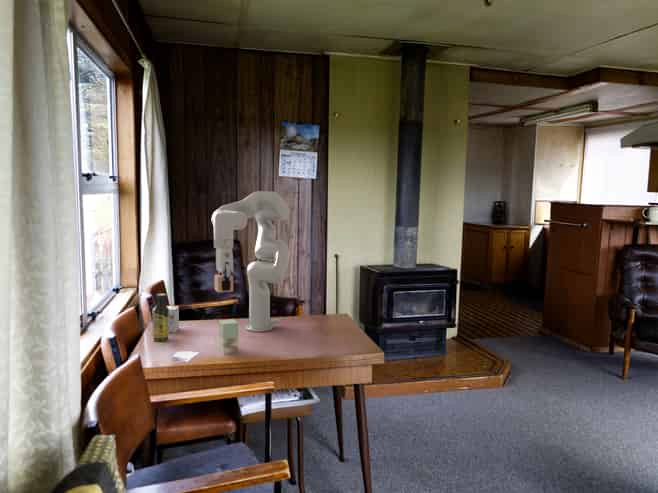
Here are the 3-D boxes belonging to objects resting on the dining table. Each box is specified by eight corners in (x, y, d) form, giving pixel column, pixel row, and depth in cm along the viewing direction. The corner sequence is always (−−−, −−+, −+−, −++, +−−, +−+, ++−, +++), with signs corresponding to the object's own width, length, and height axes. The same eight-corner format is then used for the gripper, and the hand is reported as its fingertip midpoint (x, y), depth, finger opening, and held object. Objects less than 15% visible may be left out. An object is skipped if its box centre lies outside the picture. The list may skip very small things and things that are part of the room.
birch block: (233, 347, 202) (233, 333, 202) (238, 352, 197) (238, 337, 196) (219, 349, 200) (219, 335, 199) (223, 354, 194) (223, 339, 194)
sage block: (233, 333, 202) (233, 319, 201) (238, 337, 196) (238, 322, 196) (219, 335, 199) (219, 320, 198) (223, 339, 194) (223, 324, 193)
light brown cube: (229, 288, 200) (229, 273, 199) (233, 291, 195) (233, 276, 194) (214, 289, 197) (214, 274, 197) (218, 292, 192) (217, 277, 191)
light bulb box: (151, 332, 222) (151, 309, 220) (155, 328, 228) (155, 305, 227) (176, 332, 223) (175, 309, 221) (179, 328, 229) (179, 305, 228)
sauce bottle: (150, 340, 210) (149, 294, 208) (161, 336, 216) (160, 292, 213) (161, 342, 207) (160, 296, 205) (172, 339, 212) (171, 293, 210)
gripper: (238, 245, 188) (239, 292, 190) (227, 241, 203) (228, 284, 205) (219, 246, 184) (219, 293, 187) (209, 241, 200) (209, 285, 202)
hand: (224, 288), depth 196 cm, fingers closed on light brown cube, 6 cm apart
